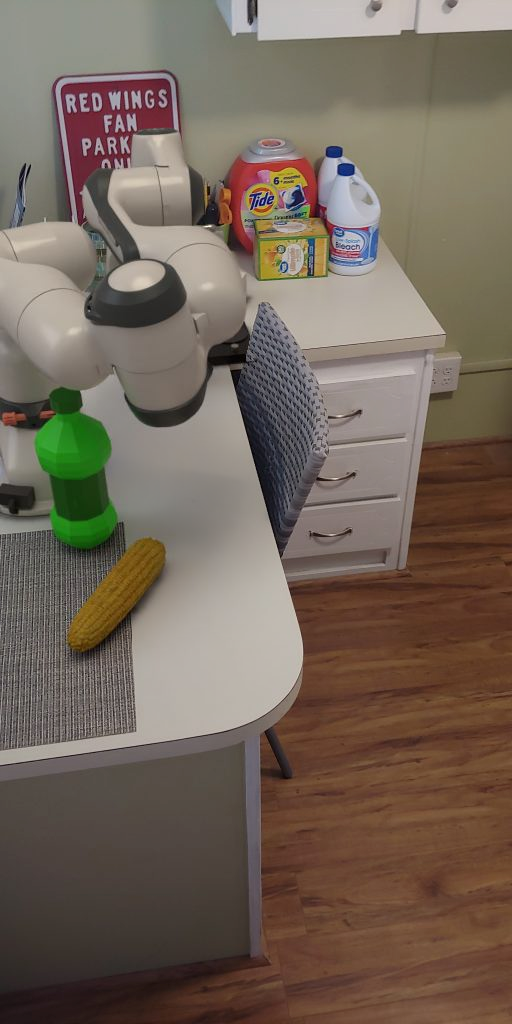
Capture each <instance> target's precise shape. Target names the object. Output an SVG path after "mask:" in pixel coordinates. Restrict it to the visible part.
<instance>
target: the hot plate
mask: <svg viewBox="0 0 512 1024" xmlns="http://www.w3.org/2000/svg"><path fill="white" fill-rule="evenodd" d="M250 337H251V338H252V336H251V334H250V331H249V328H248V326H247V323H246V321H245V320H244V323H243V325H242V327H241V328H240V330H239V331H238V332H237V333H236V334H235V335H234V336H233V337H232V338H230V339H229V340H227V341H225V342H223V343H220V344H217V345H214V346H213V347H211V348H210V350H209V352H208V356H207V360H208V362H209V363H211V365H212V366H213V367H214V366H215V367H216V366H224V365H234V364H235V365H236V364H244V363H247V362H246V354H247V350H248V346H249V341H250Z"/></svg>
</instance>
